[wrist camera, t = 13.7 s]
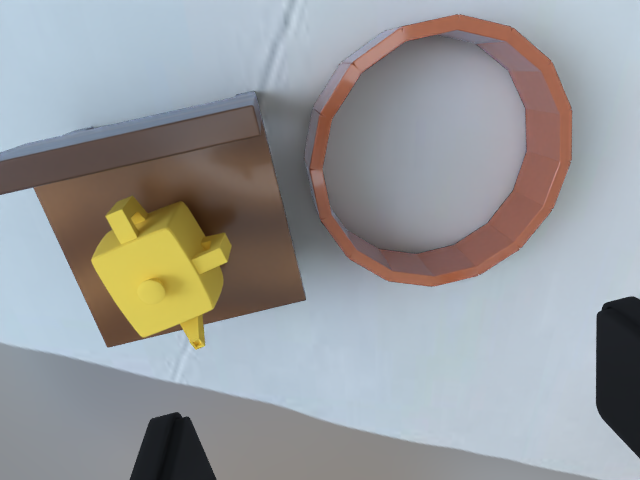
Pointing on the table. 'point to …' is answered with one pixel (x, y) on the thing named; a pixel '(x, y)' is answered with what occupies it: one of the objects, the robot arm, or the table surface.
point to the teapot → (161, 267)
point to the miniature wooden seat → (168, 199)
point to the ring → (532, 182)
